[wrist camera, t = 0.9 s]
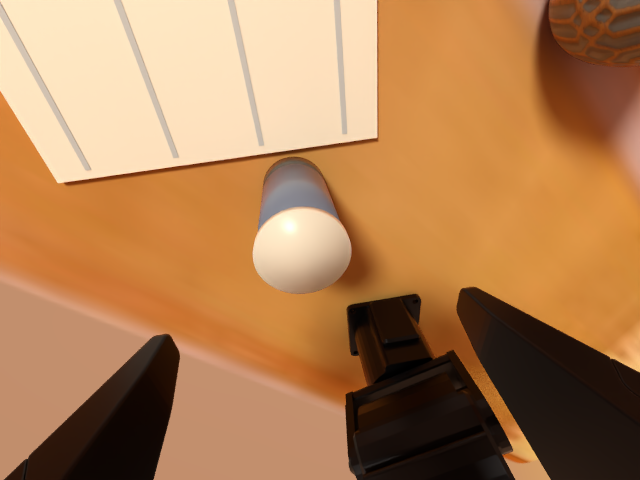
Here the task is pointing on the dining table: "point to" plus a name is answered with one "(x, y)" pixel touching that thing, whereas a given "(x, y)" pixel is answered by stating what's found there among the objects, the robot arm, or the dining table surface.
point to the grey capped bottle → (299, 230)
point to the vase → (598, 30)
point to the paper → (186, 79)
